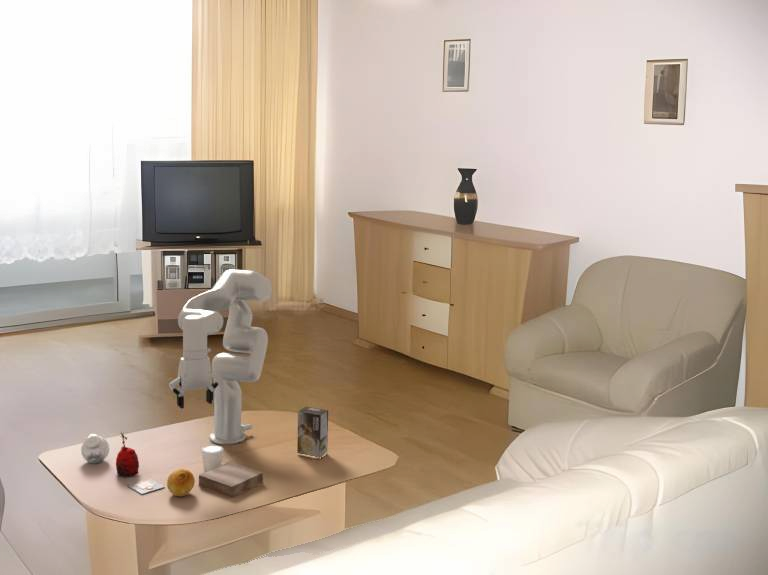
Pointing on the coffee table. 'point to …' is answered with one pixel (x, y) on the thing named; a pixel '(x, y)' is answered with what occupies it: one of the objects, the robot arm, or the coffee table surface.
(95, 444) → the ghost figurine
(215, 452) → the shot glass
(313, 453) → the coffee box
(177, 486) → the fruit
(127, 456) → the red clay folk toy
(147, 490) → the card
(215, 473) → the walnut block
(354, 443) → the coffee table surface
